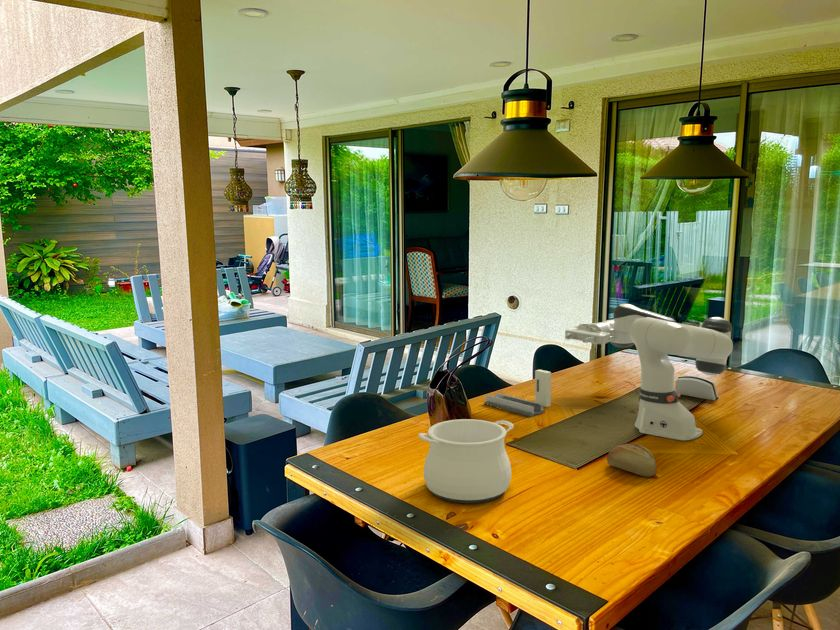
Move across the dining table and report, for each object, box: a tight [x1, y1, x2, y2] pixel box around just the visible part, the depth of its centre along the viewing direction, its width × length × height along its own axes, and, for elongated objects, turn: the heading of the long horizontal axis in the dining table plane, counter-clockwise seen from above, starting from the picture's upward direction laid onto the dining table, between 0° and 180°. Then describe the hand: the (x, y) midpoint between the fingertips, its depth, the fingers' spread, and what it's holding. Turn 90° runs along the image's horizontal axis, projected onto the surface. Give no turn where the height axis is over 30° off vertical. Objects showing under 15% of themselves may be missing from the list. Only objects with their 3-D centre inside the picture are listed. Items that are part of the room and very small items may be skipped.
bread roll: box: [606, 441, 657, 478], centre depth 191 cm, size 10×15×8 cm, turn 46°
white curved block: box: [674, 374, 719, 401], centre depth 270 cm, size 17×5×10 cm, turn 45°
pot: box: [417, 418, 515, 505], centre depth 180 cm, size 28×24×17 cm
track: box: [483, 392, 546, 418], centre depth 258 cm, size 24×9×4 cm, turn 41°
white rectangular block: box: [534, 369, 552, 408], centre depth 261 cm, size 6×3×14 cm, turn 41°
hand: (575, 339), depth 270 cm, fingers open, 8 cm apart
